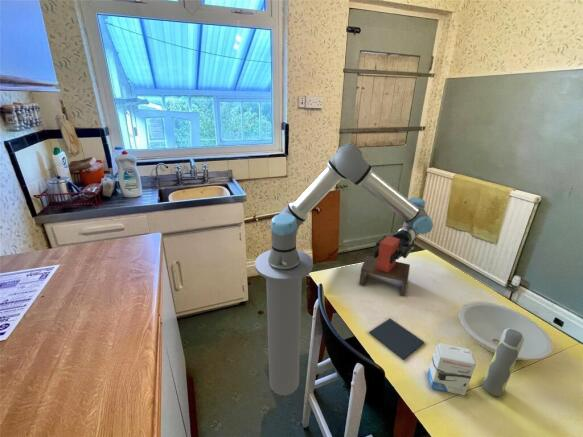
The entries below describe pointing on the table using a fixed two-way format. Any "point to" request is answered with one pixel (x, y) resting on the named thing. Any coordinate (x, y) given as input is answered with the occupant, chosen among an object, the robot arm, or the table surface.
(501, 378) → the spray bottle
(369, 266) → the shelf
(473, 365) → the ink box
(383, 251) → the block
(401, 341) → the mat
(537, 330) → the soup bowl
